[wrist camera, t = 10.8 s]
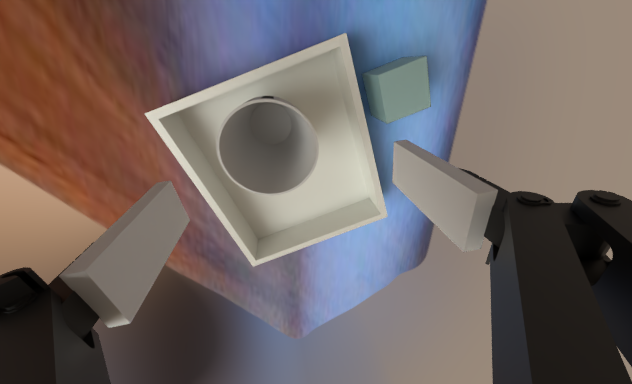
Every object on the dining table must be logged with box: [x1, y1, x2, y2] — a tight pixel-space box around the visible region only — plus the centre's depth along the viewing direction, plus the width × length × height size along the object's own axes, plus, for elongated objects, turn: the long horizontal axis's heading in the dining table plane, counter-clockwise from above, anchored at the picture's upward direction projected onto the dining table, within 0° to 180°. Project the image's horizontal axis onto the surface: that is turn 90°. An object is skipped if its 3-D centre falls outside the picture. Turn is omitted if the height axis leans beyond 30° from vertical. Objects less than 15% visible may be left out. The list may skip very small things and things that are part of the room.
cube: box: [362, 56, 431, 124], centre depth 26 cm, size 5×5×5 cm
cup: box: [216, 96, 319, 196], centre depth 23 cm, size 8×8×10 cm
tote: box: [145, 33, 387, 266], centre depth 28 cm, size 22×20×5 cm
